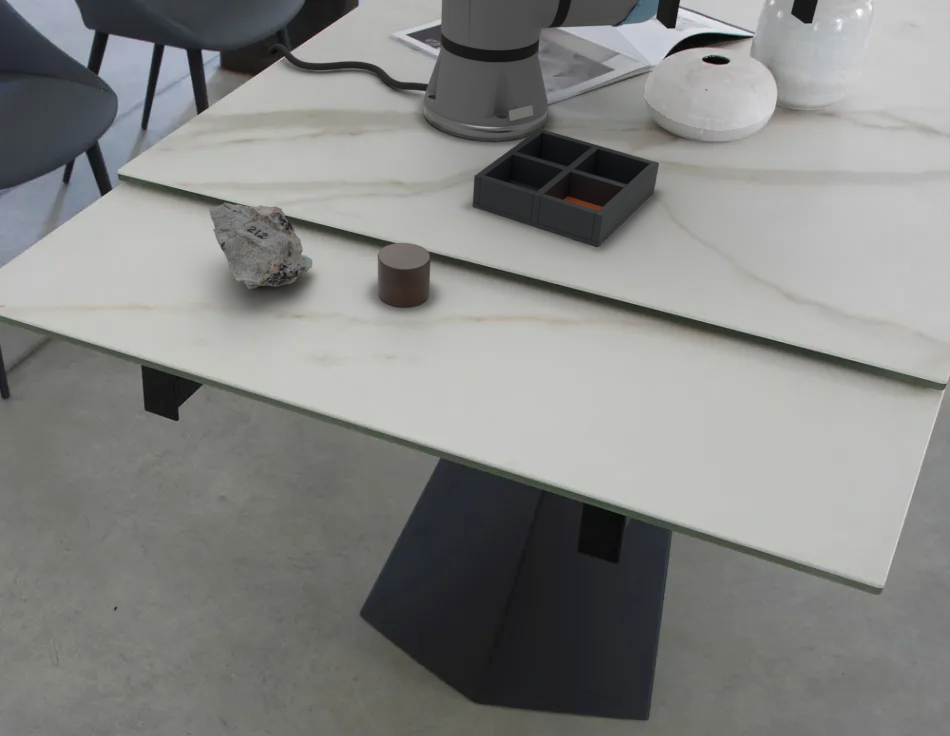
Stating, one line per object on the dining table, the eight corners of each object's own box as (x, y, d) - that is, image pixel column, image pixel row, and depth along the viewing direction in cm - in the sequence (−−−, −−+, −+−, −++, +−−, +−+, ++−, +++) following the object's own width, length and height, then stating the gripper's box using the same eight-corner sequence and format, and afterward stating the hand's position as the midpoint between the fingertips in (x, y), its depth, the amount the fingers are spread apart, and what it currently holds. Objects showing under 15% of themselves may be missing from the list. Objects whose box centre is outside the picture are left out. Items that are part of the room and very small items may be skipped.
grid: (472, 206, 110) (474, 175, 107) (536, 157, 120) (539, 128, 117) (597, 247, 105) (602, 215, 102) (654, 192, 114) (659, 162, 112)
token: (367, 296, 96) (367, 258, 93) (396, 274, 99) (396, 237, 96) (411, 313, 94) (411, 275, 91) (439, 290, 97) (440, 252, 94)
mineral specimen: (296, 320, 101) (192, 298, 98) (307, 240, 102) (204, 217, 99) (316, 296, 92) (202, 272, 89) (328, 210, 93) (215, 183, 89)
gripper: (664, -260, 74) (621, 40, 89) (962, -251, 80) (876, 30, 94) (627, -275, 80) (592, 11, 94) (909, -266, 85) (835, 3, 99)
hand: (734, 21), depth 94 cm, fingers open, 13 cm apart
